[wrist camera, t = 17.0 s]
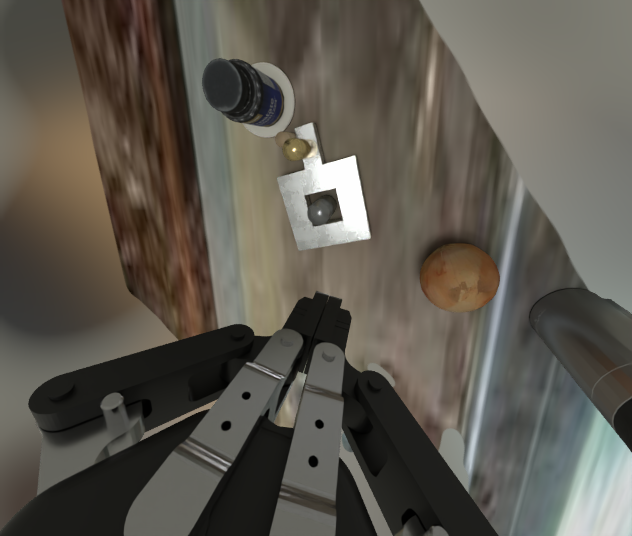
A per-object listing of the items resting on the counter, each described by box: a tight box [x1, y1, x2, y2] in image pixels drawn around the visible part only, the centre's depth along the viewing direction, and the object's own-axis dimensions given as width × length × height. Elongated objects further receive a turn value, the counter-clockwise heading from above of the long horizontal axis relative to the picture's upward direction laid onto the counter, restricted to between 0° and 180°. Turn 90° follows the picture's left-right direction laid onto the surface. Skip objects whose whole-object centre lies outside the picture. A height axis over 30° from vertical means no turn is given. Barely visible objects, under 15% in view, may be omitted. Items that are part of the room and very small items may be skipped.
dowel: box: [275, 132, 297, 147], centre depth 35 cm, size 2×2×6 cm
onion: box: [420, 243, 500, 312], centre depth 36 cm, size 10×10×10 cm
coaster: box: [243, 62, 295, 138], centre depth 37 cm, size 9×9×1 cm
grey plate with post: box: [277, 122, 371, 251], centre depth 36 cm, size 18×12×9 cm
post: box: [307, 195, 337, 225], centre depth 38 cm, size 3×3×6 cm
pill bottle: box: [202, 58, 284, 127], centre depth 32 cm, size 6×6×11 cm
